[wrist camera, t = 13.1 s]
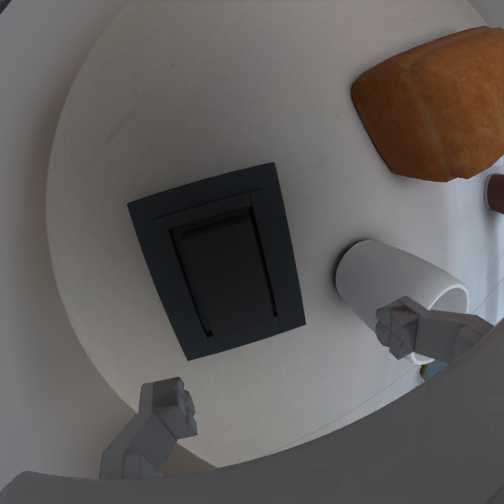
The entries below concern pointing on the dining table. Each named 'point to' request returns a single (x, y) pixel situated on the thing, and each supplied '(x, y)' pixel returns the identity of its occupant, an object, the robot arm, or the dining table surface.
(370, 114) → the bread
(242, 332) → the base pad
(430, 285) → the cup
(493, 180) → the coffee cup
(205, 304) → the black pad
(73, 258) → the dining table surface
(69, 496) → the robot arm
